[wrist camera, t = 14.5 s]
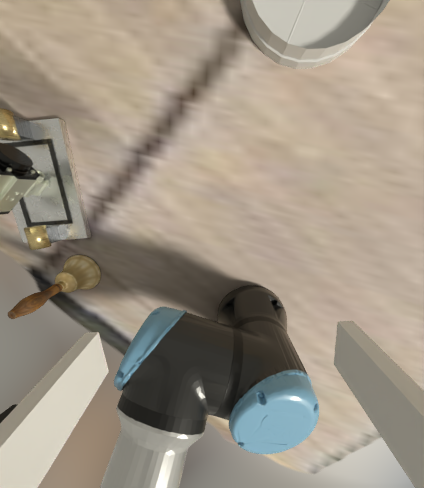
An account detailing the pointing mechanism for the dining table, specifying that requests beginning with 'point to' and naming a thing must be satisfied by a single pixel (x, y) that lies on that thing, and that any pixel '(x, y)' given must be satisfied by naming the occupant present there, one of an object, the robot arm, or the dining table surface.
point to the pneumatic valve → (17, 178)
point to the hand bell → (62, 284)
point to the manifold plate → (56, 172)
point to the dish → (308, 28)
